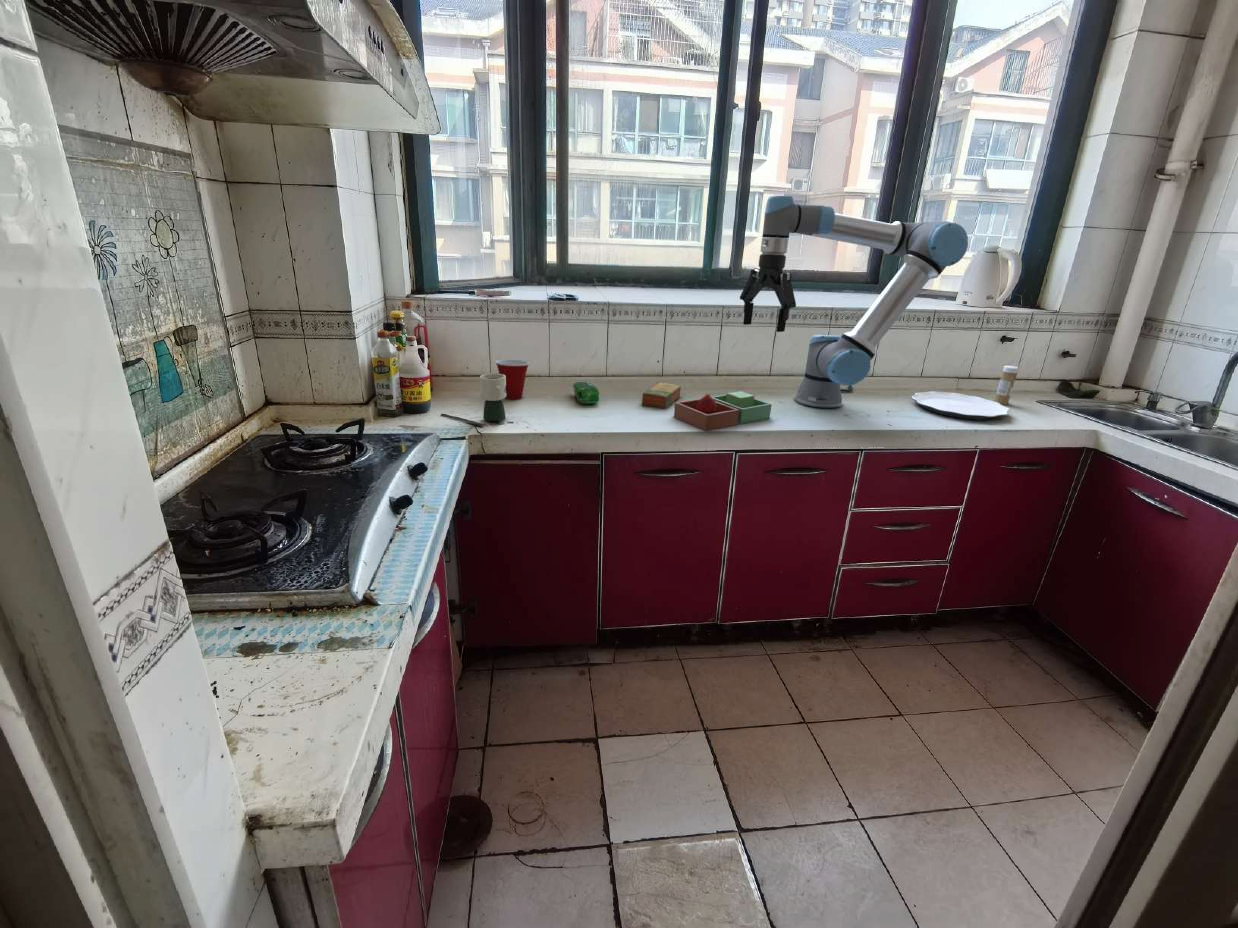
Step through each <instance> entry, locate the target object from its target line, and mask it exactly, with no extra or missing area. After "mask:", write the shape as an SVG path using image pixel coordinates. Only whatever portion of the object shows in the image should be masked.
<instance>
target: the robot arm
mask: <svg viewBox="0 0 1238 928" xmlns="http://www.w3.org/2000/svg"><path fill="white" fill-rule="evenodd" d="M764 210H765V211H764V217H763V218H764V220H763V230H762V236H761V241H760V242H761V243H760V255H759V256H758V257H759V259H758V267H759V268H758V269H756V268H755V269H751V270H750V273H749V277H748V278H747V280H746V281H747V282H746V284H745V285H744V287H743V290H742V291H741V294H739V295H740V296H739V300H742V301H743V303H744V304H743V323H742V325H744V326H746V325H747V326H748V325H752V321H753V320H752V319H753V312H754V304H755V303H754V299H755V298H757V296H758V294H759V293H760V292H761V291H762V290H763V288H771V289H772V290H773V291H774V294H775V295H776V298H777V300H778V303H779V304H780V306H781V307H780V308H779V310H778V316H777V324H776V330H775V332H777V333H782V332H785V331H786V323H787V321H788V320H789V314H790V310H791V309H793V308H794V309H795V308H796V307H797V303H796V297H795V293H794V289H793V288H794V287H793V284H792V283H793V282H792V273H791V272H783V271H784V269H785V267H786V260H787V256H786V255H785V254H787V253H788V249H789V247H788V246H789V238H790V234H799V235H804V236H811V237H815V238H821V239H827V240H831V241H835V242H836V241H837V242H841V243H847V244H853V245H858V246H862V247H863V246H864V247H869V248H873V249H879V250H882V251H883V252H884V254H886V255H891V256H896V257H899V258H902V259H903V262H904V263H903V265H902V266H901V267H900V269H899V270H898V271H897V272H896V273H895V275H894V276H893V278H892V279H891V280H890V281H889V283H888V284H887V285H886V286H885V288H884V289H883V290H882V291H881V293H880V294H879V295H878V296H877V298H876V300H874V302H872V304H871V306H870V307H869V308H868V310H867V311H866V312H865V314H864V315H863V316H862V317H861V318H860V319H859V321H858V322H857V324H856V325H855V326H854V328H852V329H851V330H850V331H848V332H844V333H843V334H842V335H835V334H834V335H833V334H831V335H830V334H827V335H826V334H814V335H812V336H811V338H810V342H809V344H808V352H807V359H806V364H805V371H804V375H803V376H804V377H803V379H802V381H801V383H800V386H799V387H798V390H797V392H796V394H795V397H794V398H795V399H794V400H795V402H797V403H798V404H800V405H803V406H807V407H811V408H817V409H837V408H840V407H841V406H842V402H843V396H842V393H850V392H851V391H853V386H855V385H857V384H859V383H861V382H862V381H864V380H865V379H866V377H867V376H868V375H869V373H870V371H871V364H872V362H871V361H872V359H873V358H874V357H875V356H876V346H877V345H878V344H879V343H880V342H881V340H883V338H884V337H885V335H886V334H887V333H888V332H889V330H890V329H891V328H892V327H893V325H894V324H895V323H896V321H897V320H898V319H899V318H900V317H901V316H902V315H903V313H904V311H905V310H906V309H907V308H908V307H909V306H910V304H911V303H912V302H913V300H914V299H915V298H916V297H917V295H918V294H919V293H920V292H921V291H922V290H923V288H924V286H925V285H926V284H927V283H928V282H929V281H930V280H932V279H937V278H938V277H940V275H942V273H943V271H944V270H945V269H946V268H947V267H952V266H953V265H956V264H957V263H959V262H960V261H961V260H962V259H963V257H965V255H966V253H967V250H968V248H969V237H968V233H967V231H966V229H965V228H964V227H963V226H962V225H961V224H959V223H956V222H952V221H941V222H940V221H939V222H937V221H925V222H924V221H921V222H903V221H897V220H896V221H894V222H892V223H888V222H884V221H878V220H874V219H869V218H863V217H857V216H852V215H848V214H847V215H846V214H841V213H838V212H837V213H836V212H835V208H834V207H833V206H830V205H824V204H821V205H820V204H818V205H817V204H798V203H795V197H794V196H792V195H778V194H777V195H775V194H774V195H770V196H768V198H767V200H766V204H765V209H764ZM841 386H846V387H848V389H846V388H841Z"/></svg>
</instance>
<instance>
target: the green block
mask: <svg viewBox="0 0 1238 928" xmlns="http://www.w3.org/2000/svg"><path fill="white" fill-rule="evenodd" d="M726 395H727V398H726V402H727V403H729V404H732V405H735V406H737V407H740V408H748V407H753V403H754V398H755V395H753V394H750V393H747V392H745V391H742V390H740V391H732V392H726Z"/></svg>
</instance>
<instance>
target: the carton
mask: <svg viewBox="0 0 1238 928" xmlns="http://www.w3.org/2000/svg"><path fill="white" fill-rule="evenodd" d="M681 389H682V387H681V385H680V384H673V383H665V382H657V383H656V384H654V385H653V386H651V387H650V388H648V389H647V390H644V392H642V398H641V405H643V406H648V407H652V408H653V407H654V408H660V409H668V407H669V406H671V405H672V404H673V403H675V402H676V400H678V399H679V398H680V397H681Z"/></svg>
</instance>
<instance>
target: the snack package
mask: <svg viewBox="0 0 1238 928" xmlns="http://www.w3.org/2000/svg"><path fill="white" fill-rule="evenodd" d="M572 387H573V393H574V395H575V397H576V399H577V401H578V403H580V404H583V405H594V404H597V403H598V402H599V401H600V392H599V389H598V388H597V385H596V384H595V383H594V382H592V381H576V382H574V383H573V384H572Z"/></svg>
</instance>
